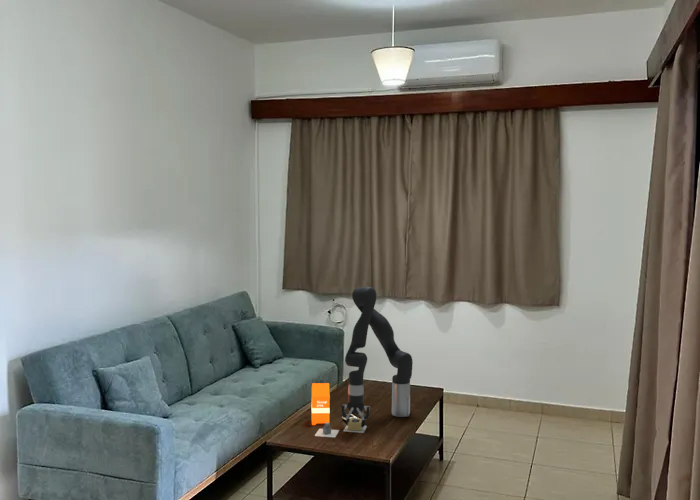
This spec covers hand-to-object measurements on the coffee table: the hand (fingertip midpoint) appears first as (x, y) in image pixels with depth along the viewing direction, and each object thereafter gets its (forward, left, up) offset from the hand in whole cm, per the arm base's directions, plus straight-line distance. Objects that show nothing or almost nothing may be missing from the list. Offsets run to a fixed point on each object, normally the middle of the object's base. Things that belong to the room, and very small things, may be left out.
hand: (355, 426), depth 321 cm
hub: (+12, +9, -2) cm, 15 cm away
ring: (0, 0, -1) cm, 1 cm away
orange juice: (+19, -7, -2) cm, 20 cm away
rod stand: (0, 0, -2) cm, 2 cm away
